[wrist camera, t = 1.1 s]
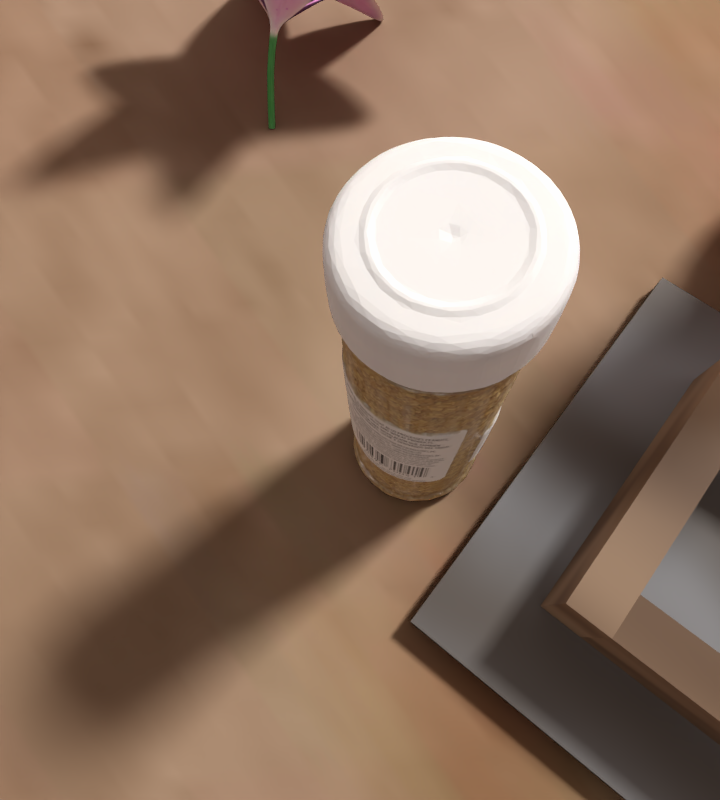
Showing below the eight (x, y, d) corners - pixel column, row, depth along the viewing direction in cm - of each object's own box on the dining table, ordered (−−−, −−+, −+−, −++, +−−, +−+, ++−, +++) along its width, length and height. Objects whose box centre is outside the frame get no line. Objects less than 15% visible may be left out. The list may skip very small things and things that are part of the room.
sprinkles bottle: (500, 446, 24) (645, 238, 11) (410, 531, 23) (450, 411, 10) (415, 361, 25) (454, 83, 12) (325, 438, 24) (265, 225, 11)
